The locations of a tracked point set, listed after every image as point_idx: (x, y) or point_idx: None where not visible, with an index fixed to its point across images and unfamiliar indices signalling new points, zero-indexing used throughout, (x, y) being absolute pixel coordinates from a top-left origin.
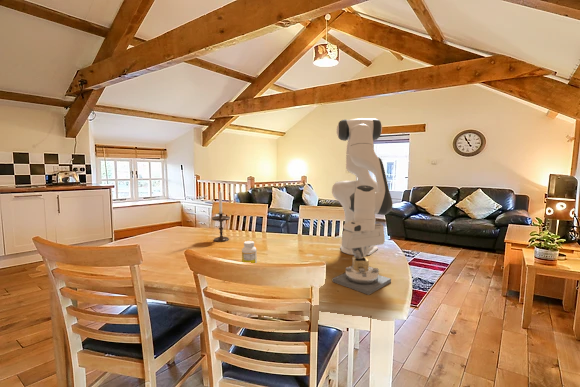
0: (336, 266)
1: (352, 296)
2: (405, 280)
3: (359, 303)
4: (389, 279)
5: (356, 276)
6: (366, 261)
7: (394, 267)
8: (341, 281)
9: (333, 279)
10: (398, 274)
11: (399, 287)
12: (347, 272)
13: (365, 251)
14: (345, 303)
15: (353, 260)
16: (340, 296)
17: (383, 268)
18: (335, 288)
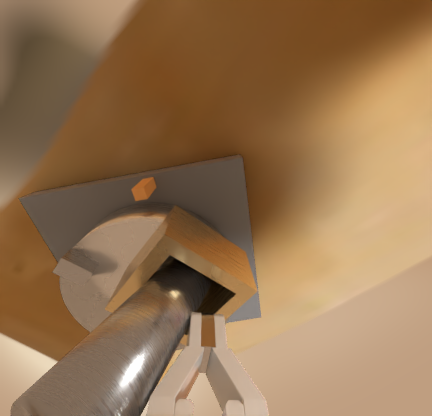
0: None
1: (53, 315)
2: (311, 316)
3: (50, 346)
4: (249, 318)
5: (82, 322)
6: (180, 342)
7: (428, 223)
8: (49, 248)
9: (26, 203)
10: (350, 277)
11: (242, 335)
12: (60, 277)
13: (213, 386)
14: (5, 332)
15: (135, 265)
16: (9, 299)
17: (382, 204)
18: (18, 248)
